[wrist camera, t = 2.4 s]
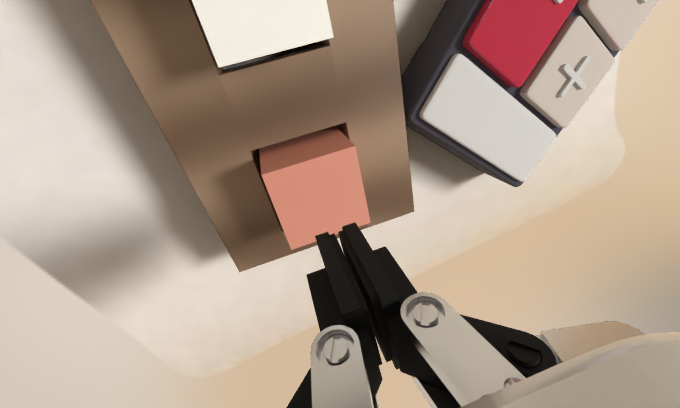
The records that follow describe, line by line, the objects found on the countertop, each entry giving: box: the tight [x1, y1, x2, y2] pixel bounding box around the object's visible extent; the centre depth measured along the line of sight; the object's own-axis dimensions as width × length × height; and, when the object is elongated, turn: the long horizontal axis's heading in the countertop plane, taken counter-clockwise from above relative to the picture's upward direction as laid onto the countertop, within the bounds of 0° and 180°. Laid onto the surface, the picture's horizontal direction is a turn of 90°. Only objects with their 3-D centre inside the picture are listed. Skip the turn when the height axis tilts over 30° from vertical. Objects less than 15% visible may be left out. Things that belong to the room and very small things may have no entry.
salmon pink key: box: [259, 126, 371, 250], centre depth 16 cm, size 4×4×4 cm
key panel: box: [90, 0, 414, 272], centre depth 16 cm, size 18×12×3 cm, turn 14°
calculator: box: [401, 0, 660, 187], centre depth 18 cm, size 11×4×15 cm
